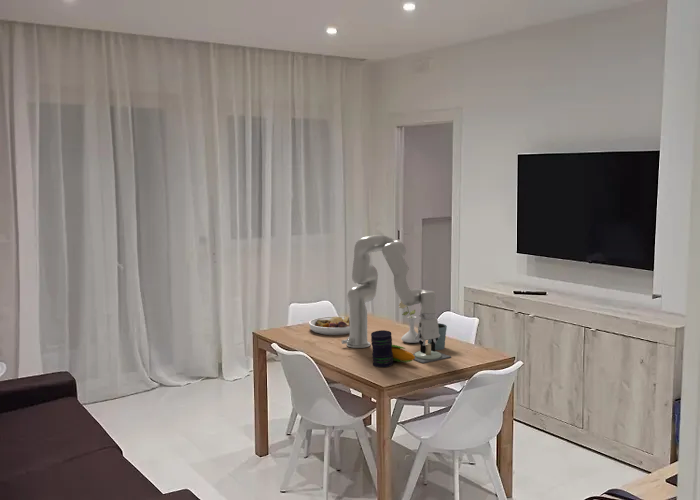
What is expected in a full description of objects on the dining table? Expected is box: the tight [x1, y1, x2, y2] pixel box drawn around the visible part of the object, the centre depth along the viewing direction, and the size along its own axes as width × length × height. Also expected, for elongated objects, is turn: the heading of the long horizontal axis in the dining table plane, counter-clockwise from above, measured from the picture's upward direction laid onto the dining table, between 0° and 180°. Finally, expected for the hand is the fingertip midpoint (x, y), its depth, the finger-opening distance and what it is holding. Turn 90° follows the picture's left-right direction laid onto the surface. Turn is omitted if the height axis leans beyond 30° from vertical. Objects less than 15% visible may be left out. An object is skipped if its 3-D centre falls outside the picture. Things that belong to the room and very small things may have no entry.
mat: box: [412, 350, 452, 364], centre depth 328 cm, size 18×14×1 cm
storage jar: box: [370, 329, 394, 368], centre depth 315 cm, size 10×10×15 cm
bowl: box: [308, 315, 349, 336], centre depth 386 cm, size 30×30×8 cm
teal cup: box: [427, 322, 448, 351], centre depth 344 cm, size 10×10×12 cm
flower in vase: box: [398, 300, 418, 344], centre depth 356 cm, size 13×11×25 cm
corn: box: [392, 344, 415, 363], centre depth 320 cm, size 7×8×20 cm
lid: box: [414, 342, 442, 360], centre depth 328 cm, size 13×13×6 cm
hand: (427, 351), depth 328 cm, fingers open, 5 cm apart
